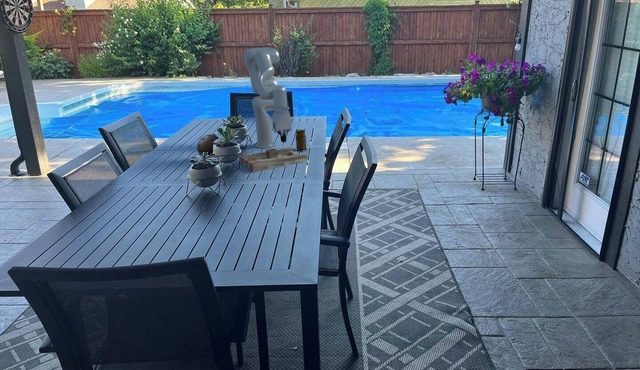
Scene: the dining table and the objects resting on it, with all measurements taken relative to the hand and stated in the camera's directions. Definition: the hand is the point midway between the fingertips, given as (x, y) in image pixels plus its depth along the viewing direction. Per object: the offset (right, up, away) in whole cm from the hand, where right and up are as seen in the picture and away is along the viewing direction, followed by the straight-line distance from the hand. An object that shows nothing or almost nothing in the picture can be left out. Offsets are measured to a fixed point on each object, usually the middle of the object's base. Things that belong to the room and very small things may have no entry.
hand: (283, 141), depth 273 cm
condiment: (+10, -3, +20) cm, 22 cm away
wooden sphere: (-42, -10, +8) cm, 44 cm away
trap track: (-5, -12, -3) cm, 13 cm away
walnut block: (-6, -9, 0) cm, 11 cm away
